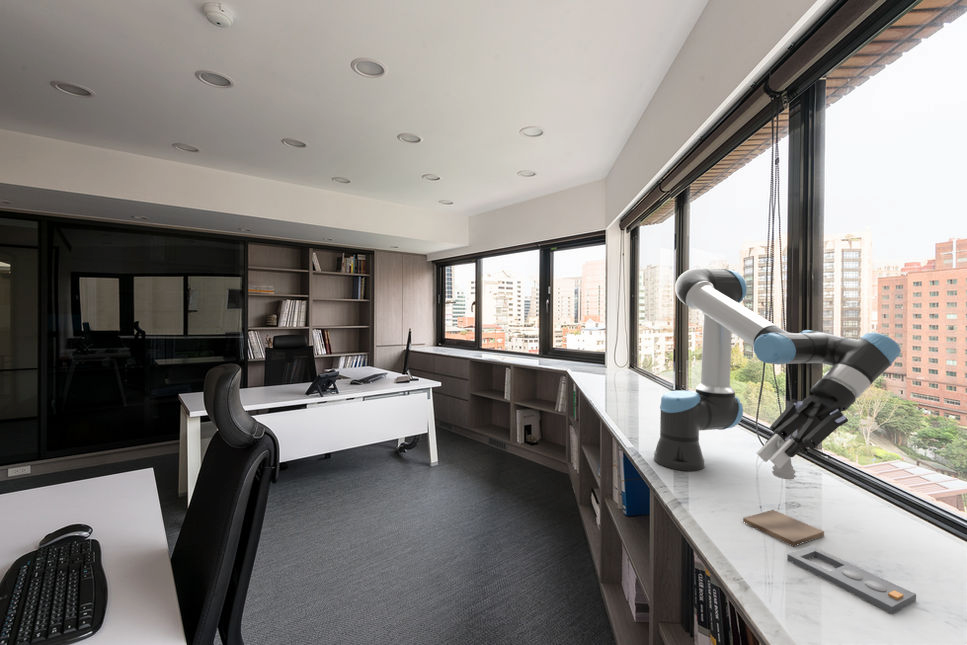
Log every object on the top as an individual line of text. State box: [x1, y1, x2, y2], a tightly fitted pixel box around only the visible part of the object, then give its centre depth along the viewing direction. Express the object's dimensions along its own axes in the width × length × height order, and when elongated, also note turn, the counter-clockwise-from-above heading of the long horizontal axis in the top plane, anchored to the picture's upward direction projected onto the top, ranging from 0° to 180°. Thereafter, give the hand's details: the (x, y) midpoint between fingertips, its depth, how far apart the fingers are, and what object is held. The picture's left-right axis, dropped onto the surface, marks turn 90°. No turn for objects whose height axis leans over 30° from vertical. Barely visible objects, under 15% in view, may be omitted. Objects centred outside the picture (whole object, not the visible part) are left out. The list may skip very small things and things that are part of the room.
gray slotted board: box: [786, 545, 917, 615], centre depth 76 cm, size 16×8×2 cm, turn 23°
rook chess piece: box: [771, 440, 796, 480], centre depth 94 cm, size 4×4×8 cm
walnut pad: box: [742, 509, 825, 547], centre depth 94 cm, size 11×11×1 cm
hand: (767, 460), depth 94 cm, fingers closed on rook chess piece, 3 cm apart
